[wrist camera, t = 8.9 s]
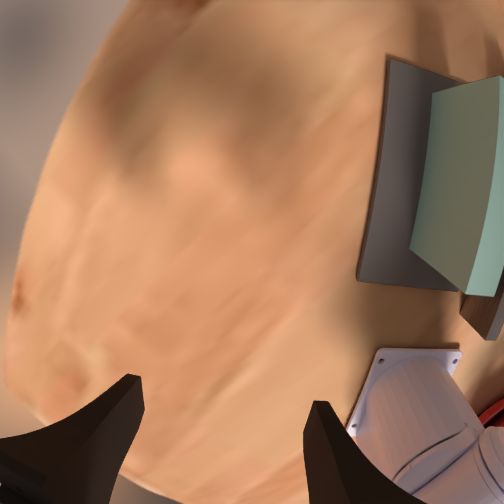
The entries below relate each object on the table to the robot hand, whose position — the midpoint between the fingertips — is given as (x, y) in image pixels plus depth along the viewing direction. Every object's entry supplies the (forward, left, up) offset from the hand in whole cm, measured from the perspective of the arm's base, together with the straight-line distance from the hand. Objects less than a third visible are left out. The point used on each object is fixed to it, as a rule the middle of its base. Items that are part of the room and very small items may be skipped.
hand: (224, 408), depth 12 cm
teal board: (+11, -11, -9) cm, 18 cm away
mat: (+10, -11, -9) cm, 18 cm away
